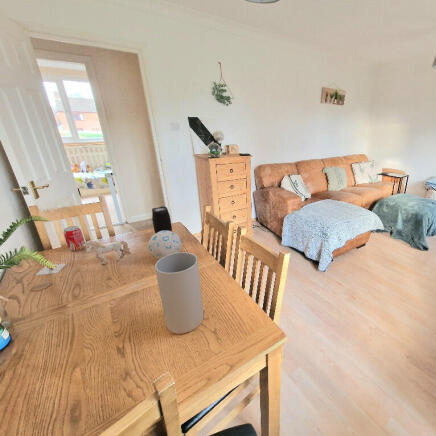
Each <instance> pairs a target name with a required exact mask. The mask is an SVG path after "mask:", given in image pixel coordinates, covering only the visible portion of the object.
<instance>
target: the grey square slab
mask: <svg viewBox="0 0 436 436" xmlns="http://www.w3.org/2000/svg"><path fill="white" fill-rule="evenodd" d="M58 264H59V265H58ZM58 264H54V265H55V266H57V268H56V269H53V268H47V266H46V265H45V266H44V267H43V268H41V269H40V270H39V271H38V272H37V273H35V276H42V275H50V274H51V275H52V274H58V273H59V272H60V271H61V270H62V269H63V268H64V267H65V266H66V265H67V264H68V263H67V262H65V263H58Z"/></svg>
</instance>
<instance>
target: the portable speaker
mask: <svg viewBox="0 0 436 436" xmlns="http://www.w3.org/2000/svg"><path fill="white" fill-rule="evenodd" d="M151 213H152V214H151V221H152V225H153V230H154V231H153V232H154V234H155V233H158V232H160V231H172V232H173V227H172V220H171V219H172V218H171V215H170V212H169V209H168V207H167V206H159V207H153V208H152V209H151Z"/></svg>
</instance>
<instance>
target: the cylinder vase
mask: <svg viewBox="0 0 436 436" xmlns="http://www.w3.org/2000/svg"><path fill="white" fill-rule="evenodd" d="M198 259H199V258H198V256H197V255H196V254H194V253H191V252H188V251H187V252H186V251H185V252H182V251H180V252H179V253H173V254H170V255H167V256H165V257H163V258H161V259H160V260H159V259H157V261H156V262H155V263H154V270H155V274H156V279H157V285H158V290H159V296H160V301H161V305H162V309H163V310H162V311H163V316H164V321H165V326H166V328H167V330H168V331H169V332H171V333H173V334H177V335H178V334H179V335H182V334H187V333H189V332H192V331H194V330H195V329H197V328H198V327H199V326H200V325H201V324H202V322H203V321H204V317H205V316H204V305H203V296H202V287H201V277H200V269H199V260H198Z"/></svg>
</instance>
